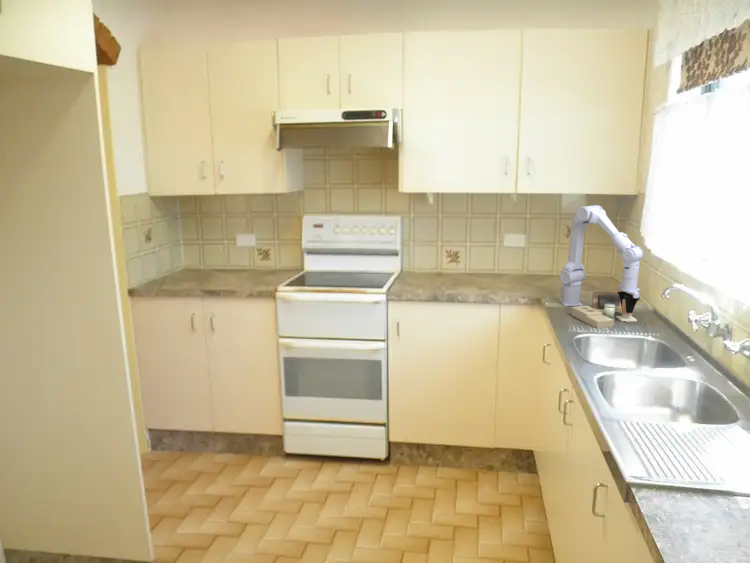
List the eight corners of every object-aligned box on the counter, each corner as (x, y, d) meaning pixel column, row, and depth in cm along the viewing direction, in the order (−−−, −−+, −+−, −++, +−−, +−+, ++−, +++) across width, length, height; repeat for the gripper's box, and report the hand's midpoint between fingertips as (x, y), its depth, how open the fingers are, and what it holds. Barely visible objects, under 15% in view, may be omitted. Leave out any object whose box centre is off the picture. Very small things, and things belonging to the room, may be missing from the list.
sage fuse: (601, 317, 232) (603, 303, 231) (611, 317, 232) (613, 303, 231) (605, 320, 228) (606, 306, 227) (615, 320, 228) (617, 306, 227)
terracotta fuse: (626, 312, 232) (627, 298, 231) (634, 315, 228) (635, 300, 227) (619, 313, 230) (620, 299, 229) (626, 316, 227) (628, 301, 225)
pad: (615, 317, 233) (615, 315, 233) (630, 316, 233) (630, 315, 233) (621, 321, 227) (621, 320, 227) (637, 321, 227) (637, 319, 227)
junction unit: (590, 308, 244) (592, 290, 242) (619, 308, 244) (621, 290, 242) (595, 312, 240) (596, 293, 238) (624, 312, 239) (626, 293, 237)
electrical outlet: (597, 319, 218) (571, 306, 235) (596, 329, 219) (571, 316, 236) (614, 317, 220) (587, 305, 237) (613, 328, 221) (586, 314, 238)
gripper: (648, 282, 219) (645, 316, 222) (632, 273, 233) (629, 305, 236) (630, 282, 219) (626, 316, 222) (615, 273, 233) (612, 305, 236)
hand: (626, 311), depth 229 cm, fingers closed on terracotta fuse, 4 cm apart
